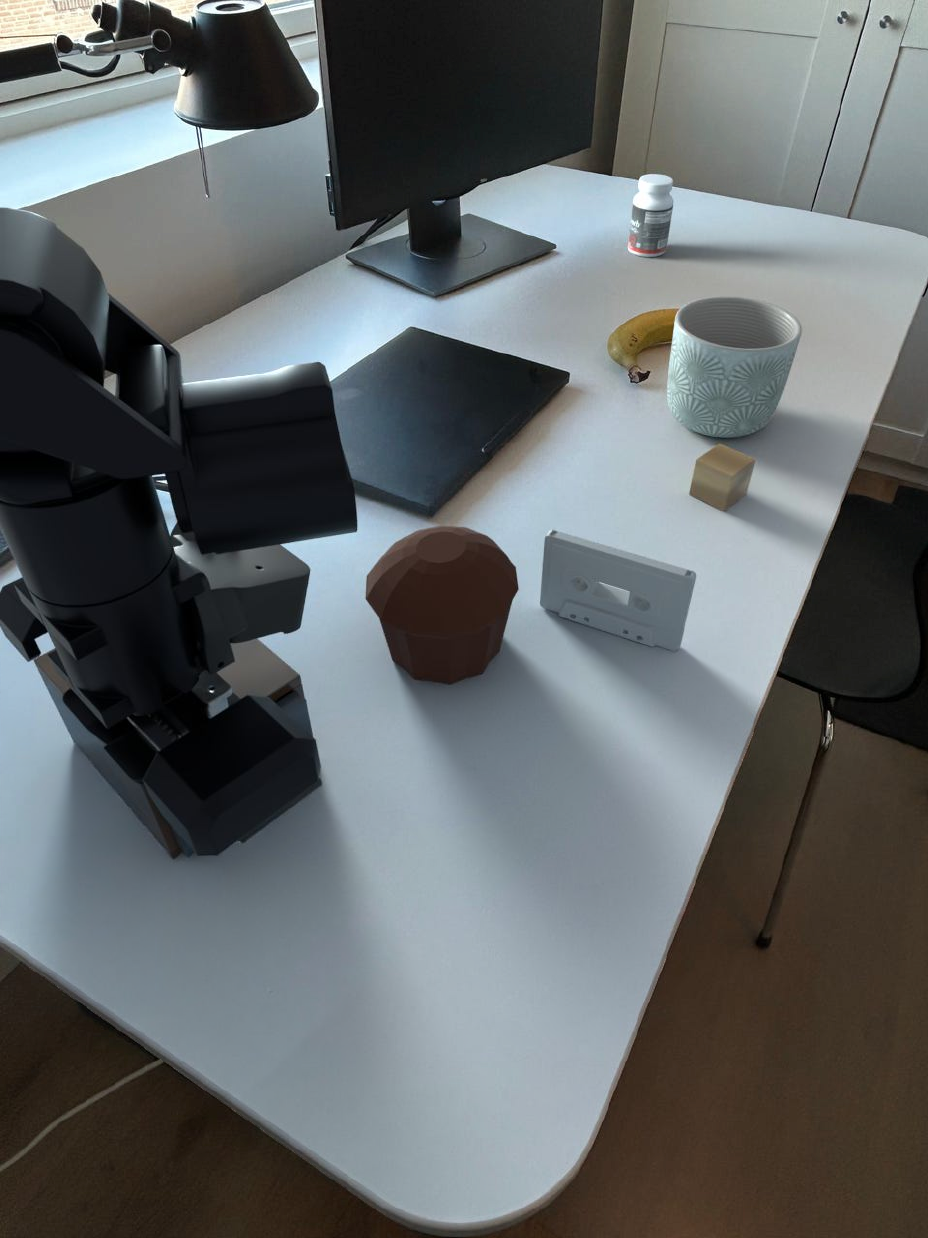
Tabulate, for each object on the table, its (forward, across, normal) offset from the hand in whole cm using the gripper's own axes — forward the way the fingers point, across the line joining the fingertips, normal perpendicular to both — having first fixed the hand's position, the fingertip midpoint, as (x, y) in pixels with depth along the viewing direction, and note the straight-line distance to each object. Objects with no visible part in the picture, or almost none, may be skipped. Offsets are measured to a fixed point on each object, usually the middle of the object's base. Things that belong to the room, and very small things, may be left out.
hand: (186, 790), depth 46 cm
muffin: (+12, +7, -25) cm, 29 cm away
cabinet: (+12, +12, -5) cm, 18 cm away
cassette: (+12, -1, -36) cm, 38 cm away
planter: (+12, +11, -70) cm, 72 cm away
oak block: (+12, +3, -58) cm, 59 cm away
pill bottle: (+12, +45, -103) cm, 113 cm away
